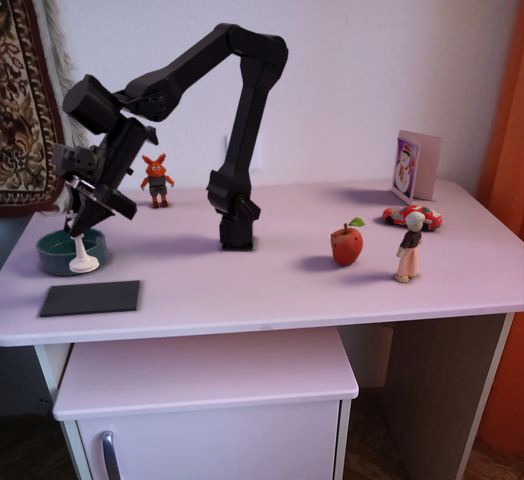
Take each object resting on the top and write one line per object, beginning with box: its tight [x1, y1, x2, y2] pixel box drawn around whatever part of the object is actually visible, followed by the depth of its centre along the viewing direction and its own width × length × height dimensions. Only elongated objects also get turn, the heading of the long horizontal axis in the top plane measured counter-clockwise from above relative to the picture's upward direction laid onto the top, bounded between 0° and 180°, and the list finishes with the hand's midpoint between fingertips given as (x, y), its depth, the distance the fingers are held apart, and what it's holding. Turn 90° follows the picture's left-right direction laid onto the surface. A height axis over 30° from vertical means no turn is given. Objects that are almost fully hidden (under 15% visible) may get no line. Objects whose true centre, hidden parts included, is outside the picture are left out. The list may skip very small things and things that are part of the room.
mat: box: [39, 279, 141, 318], centre depth 96 cm, size 16×10×1 cm, turn 97°
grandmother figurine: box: [394, 211, 425, 284], centre depth 98 cm, size 8×4×13 cm, turn 148°
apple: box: [330, 216, 366, 267], centre depth 103 cm, size 8×7×10 cm
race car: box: [381, 204, 443, 232], centre depth 120 cm, size 13×5×4 cm, turn 60°
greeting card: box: [390, 129, 444, 206], centre depth 131 cm, size 11×7×15 cm, turn 14°
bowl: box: [35, 227, 110, 276], centre depth 107 cm, size 13×13×4 cm
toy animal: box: [139, 152, 175, 209], centre depth 128 cm, size 8×6×12 cm
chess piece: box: [66, 210, 99, 274], centre depth 90 cm, size 5×5×10 cm
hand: (68, 234), depth 89 cm, fingers closed on chess piece
